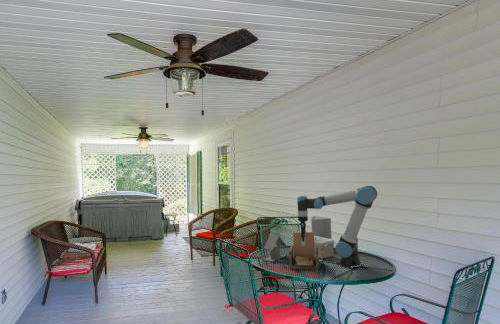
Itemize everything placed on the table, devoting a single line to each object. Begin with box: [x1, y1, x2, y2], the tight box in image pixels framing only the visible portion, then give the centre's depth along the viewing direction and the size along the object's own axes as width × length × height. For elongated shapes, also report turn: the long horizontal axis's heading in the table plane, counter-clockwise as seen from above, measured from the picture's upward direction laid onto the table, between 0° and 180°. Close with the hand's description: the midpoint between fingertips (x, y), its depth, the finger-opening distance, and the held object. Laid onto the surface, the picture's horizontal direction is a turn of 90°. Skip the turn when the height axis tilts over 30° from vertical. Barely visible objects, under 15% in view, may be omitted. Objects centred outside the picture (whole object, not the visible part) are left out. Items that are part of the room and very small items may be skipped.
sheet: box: [292, 231, 316, 260], centre depth 256 cm, size 2×16×24 cm, turn 78°
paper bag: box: [310, 215, 333, 240], centre depth 304 cm, size 19×15×28 cm
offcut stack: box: [294, 257, 314, 266], centre depth 246 cm, size 6×14×7 cm, turn 78°
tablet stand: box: [263, 234, 287, 263], centre depth 275 cm, size 18×10×20 cm, turn 137°
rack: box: [288, 245, 320, 270], centre depth 251 cm, size 18×21×14 cm
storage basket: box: [314, 236, 335, 259], centre depth 280 cm, size 24×16×15 cm
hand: (303, 243), depth 256 cm, fingers open, 12 cm apart
